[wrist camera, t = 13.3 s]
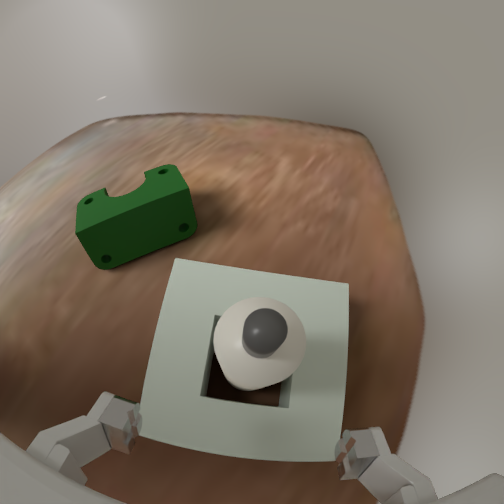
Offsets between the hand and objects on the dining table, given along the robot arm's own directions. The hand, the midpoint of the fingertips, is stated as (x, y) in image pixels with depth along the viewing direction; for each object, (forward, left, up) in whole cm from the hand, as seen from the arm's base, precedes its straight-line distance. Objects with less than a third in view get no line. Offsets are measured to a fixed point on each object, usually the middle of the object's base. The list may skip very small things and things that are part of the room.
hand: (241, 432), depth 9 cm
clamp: (-13, +16, -13) cm, 24 cm away
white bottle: (0, +4, -13) cm, 13 cm away
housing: (0, +4, -13) cm, 13 cm away
